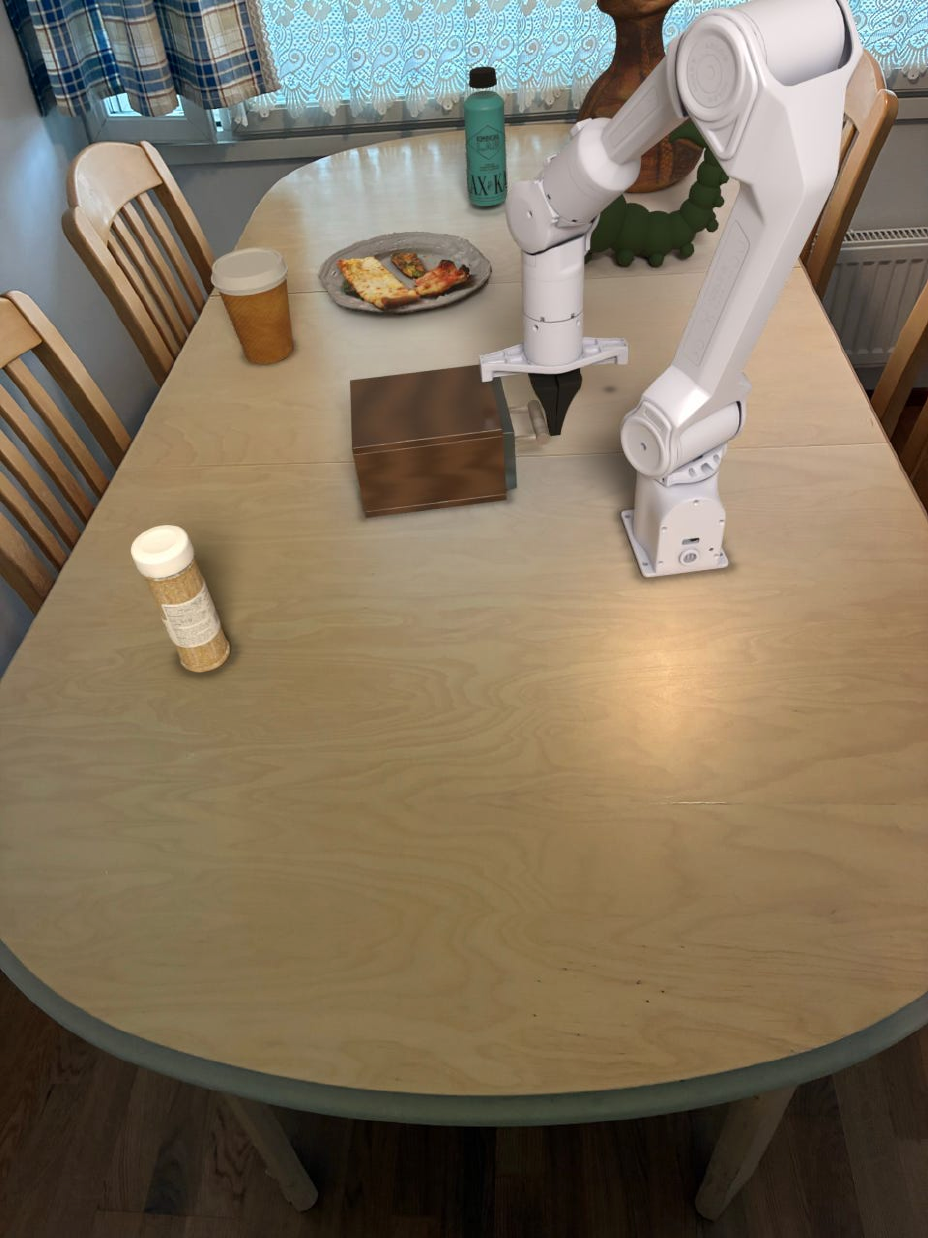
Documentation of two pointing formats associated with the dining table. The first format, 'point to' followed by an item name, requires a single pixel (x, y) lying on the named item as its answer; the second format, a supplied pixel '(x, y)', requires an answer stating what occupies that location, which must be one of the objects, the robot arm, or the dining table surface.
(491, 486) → the cabinet
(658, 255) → the toy figurine
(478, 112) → the beverage bottle
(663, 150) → the jug
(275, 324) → the disposable coffee cup
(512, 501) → the dining table surface
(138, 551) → the spice jar
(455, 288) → the food plate
